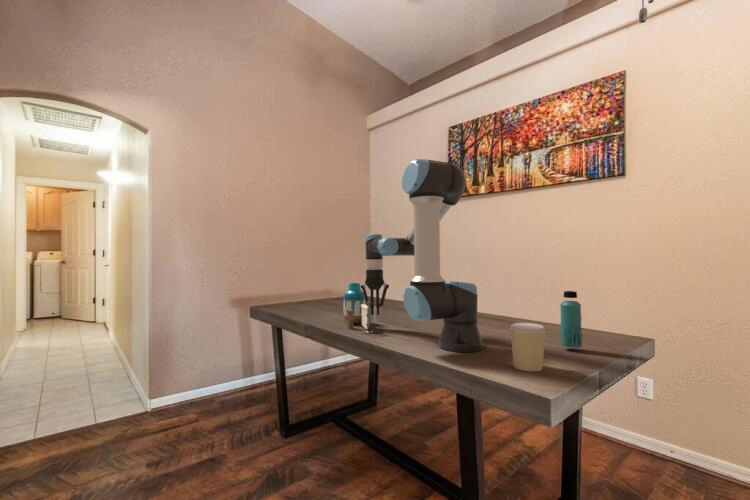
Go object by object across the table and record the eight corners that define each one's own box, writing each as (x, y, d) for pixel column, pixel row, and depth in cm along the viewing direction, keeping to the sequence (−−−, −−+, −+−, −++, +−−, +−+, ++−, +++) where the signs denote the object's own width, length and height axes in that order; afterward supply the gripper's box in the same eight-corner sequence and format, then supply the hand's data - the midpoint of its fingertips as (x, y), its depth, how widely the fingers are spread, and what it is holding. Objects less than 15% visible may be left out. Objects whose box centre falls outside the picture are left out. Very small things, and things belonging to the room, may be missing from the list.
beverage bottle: (574, 353, 119) (573, 292, 119) (555, 348, 125) (555, 290, 125) (586, 351, 122) (585, 291, 122) (568, 346, 128) (567, 289, 128)
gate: (370, 330, 153) (370, 308, 153) (366, 330, 152) (366, 308, 152) (364, 324, 165) (364, 304, 165) (361, 324, 164) (360, 304, 164)
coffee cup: (534, 361, 110) (533, 322, 110) (552, 371, 101) (552, 328, 101) (504, 363, 109) (504, 323, 109) (521, 373, 99) (520, 329, 100)
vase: (339, 324, 169) (339, 283, 170) (349, 320, 179) (349, 281, 179) (360, 326, 165) (359, 284, 166) (369, 322, 175) (368, 282, 175)
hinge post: (375, 332, 151) (375, 301, 151) (367, 333, 149) (367, 301, 149) (370, 331, 154) (370, 300, 154) (363, 332, 152) (363, 300, 152)
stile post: (354, 328, 160) (354, 310, 160) (349, 329, 159) (349, 310, 159) (351, 327, 162) (351, 309, 162) (346, 328, 161) (346, 309, 161)
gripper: (387, 268, 164) (388, 320, 164) (359, 268, 164) (360, 320, 164) (389, 269, 157) (390, 323, 157) (360, 269, 156) (360, 324, 156)
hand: (375, 322), depth 160 cm, fingers closed
